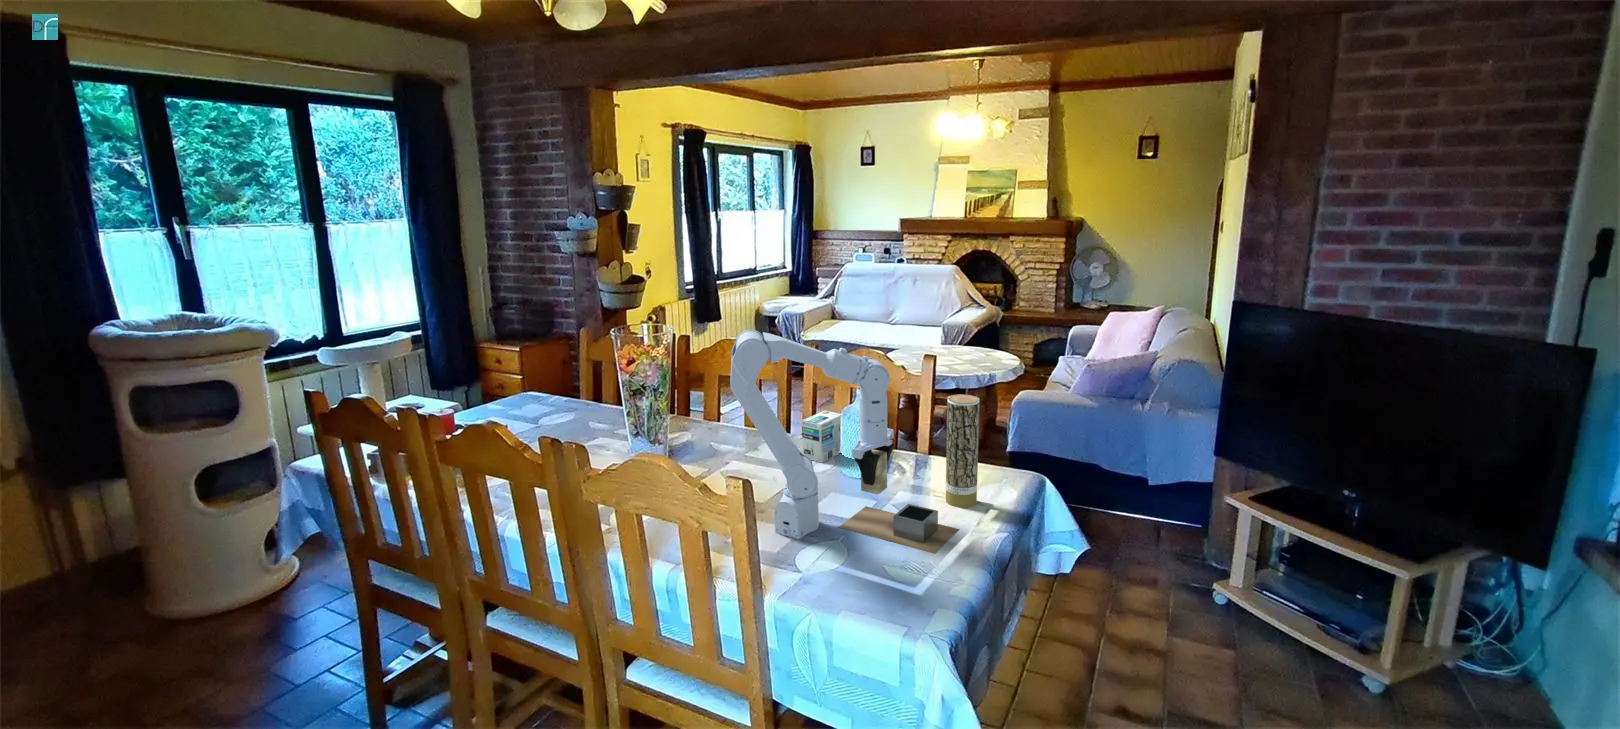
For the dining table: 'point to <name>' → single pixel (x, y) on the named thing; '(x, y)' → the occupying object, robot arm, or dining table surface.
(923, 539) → the grey open box
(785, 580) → the dining table surface
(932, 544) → the plank
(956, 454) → the paper tube
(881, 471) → the beige wooden block
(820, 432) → the light bulb box
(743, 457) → the dining table surface
